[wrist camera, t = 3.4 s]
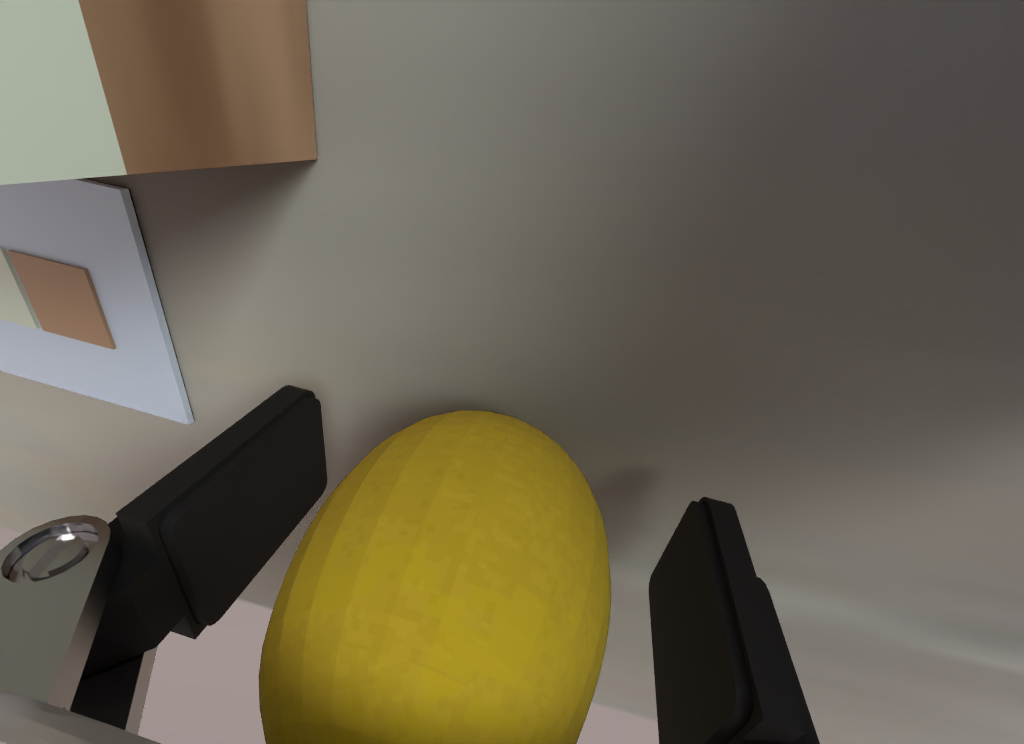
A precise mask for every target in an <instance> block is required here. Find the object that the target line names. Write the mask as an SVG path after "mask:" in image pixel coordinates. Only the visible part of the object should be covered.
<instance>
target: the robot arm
mask: <svg viewBox="0 0 1024 744" xmlns="http://www.w3.org/2000/svg"><path fill="white" fill-rule="evenodd" d="M326 485H327V472H326V460H325V449H324V438H323V427H322V415H321V405H320V401H319V400H318V399H316V398H315V394H314V393H313V392H312V391H309V390H305V389H301V388H298V387H294V386H290V385H288V386H285V387H283V388H281V389H280V390H279V391H277V392H276V393H275V394H273V395H272V396H271V397H269V398H268V399H267V400H265V401H264V402H263V403H261V404H260V405H259V406H257V407H256V408H255V409H253V410H252V411H251V412H249V413H248V414H247V415H245V416H244V417H243V418H241V419H240V420H239V421H237V422H236V423H235V424H233V425H232V426H231V427H230V428H228V429H227V430H226V431H224V432H223V433H222V434H220V435H219V436H218V437H216V438H215V439H214V440H212V441H211V442H210V443H208V444H207V445H206V446H204V447H203V448H202V449H200V450H199V451H198V452H196V453H195V454H194V455H192V456H191V457H190V458H188V459H187V460H186V461H184V462H183V463H182V464H180V465H179V466H178V467H177V468H175V469H174V470H173V471H171V472H170V473H169V474H167V475H166V476H165V477H163V478H162V479H161V480H159V481H158V482H157V483H155V484H154V485H153V486H151V487H150V488H149V489H147V490H146V491H145V492H143V493H142V494H141V495H139V496H138V497H137V498H135V499H134V500H133V501H131V502H130V503H129V504H128V505H126V506H125V507H124V508H122V509H121V510H120V511H118V512H117V513H116V515H117V518H115V519H114V520H113V521H112V522H110V523H109V524H107V522H105V521H104V520H102V519H100V518H98V517H93V516H86V515H83V516H70V517H65V518H61V519H58V520H54V521H50V522H48V523H45V524H43V525H40V526H38V527H35V528H33V529H31V530H29V531H28V532H26V533H24V534H22V535H21V536H19V537H17V538H15V539H14V540H13V541H12V542H10V543H9V544H8V545H7V546H5V547H4V548H3V549H2V550H0V744H160V743H157V742H155V741H152V740H149V739H146V738H144V737H141V736H138V731H139V727H140V721H141V717H142V713H143V709H144V704H145V700H146V695H147V691H148V686H149V682H150V677H151V673H152V668H153V664H154V660H155V655H156V651H157V646H158V644H159V643H160V642H161V641H162V640H163V639H164V638H165V637H166V636H167V634H168V633H169V632H170V631H172V632H175V633H178V634H181V635H184V636H187V637H189V638H193V639H196V638H197V637H198V636H199V634H200V633H201V632H202V631H203V630H204V628H205V627H206V626H207V625H209V626H211V625H213V624H215V623H216V622H217V621H218V620H219V619H220V618H221V617H222V616H223V615H224V614H225V612H226V611H227V610H228V609H229V607H230V606H231V605H232V604H233V603H234V601H235V600H236V599H237V598H238V597H239V595H240V594H241V593H242V592H243V590H244V589H245V588H246V587H247V586H248V584H249V583H250V582H251V581H252V579H253V578H254V577H255V576H256V575H257V573H258V572H259V571H260V570H261V569H262V567H263V566H264V565H265V564H266V562H267V561H268V560H269V559H270V558H271V556H272V555H273V554H274V553H275V551H276V550H277V549H278V548H279V547H280V545H281V544H282V543H283V542H284V540H285V539H286V538H287V537H288V536H289V534H290V533H291V532H292V531H293V529H294V528H295V527H296V526H297V525H298V523H299V522H300V521H301V520H302V519H303V517H304V516H305V515H306V514H307V512H308V511H309V510H310V509H311V508H312V506H313V505H314V504H315V503H316V501H317V500H318V499H319V498H320V497H321V495H322V494H323V492H324V490H325V488H326ZM649 602H650V617H651V631H652V645H653V660H654V674H655V688H656V703H657V717H658V730H659V744H820V743H819V740H818V737H817V734H816V731H815V728H814V725H813V722H812V719H811V716H810V713H809V710H808V707H807V704H806V701H805V698H804V695H803V692H802V689H801V686H800V683H799V680H798V677H797V674H796V671H795V668H794V665H793V662H792V659H791V656H790V653H789V650H788V647H787V644H786V641H785V638H784V635H783V632H782V629H781V626H780V623H779V620H778V617H777V614H776V611H775V608H774V605H773V602H772V599H771V596H770V593H769V591H768V588H767V586H766V584H765V583H764V582H763V581H762V579H761V578H758V577H757V576H756V573H755V570H754V567H753V564H752V561H751V557H750V554H749V551H748V548H747V545H746V542H745V538H744V535H743V532H742V529H741V526H740V523H739V520H738V516H737V513H736V510H735V508H734V506H733V505H732V504H729V503H726V502H722V501H718V500H715V499H711V498H707V497H703V498H701V499H700V501H699V502H696V501H692V502H691V503H690V504H689V506H688V508H687V510H686V512H685V513H684V515H683V517H682V519H681V521H680V523H679V525H678V526H677V528H676V530H675V532H674V534H673V536H672V538H671V539H670V541H669V543H668V545H667V547H666V549H665V551H664V552H663V554H662V556H661V558H660V560H659V562H658V564H657V566H656V567H655V569H654V571H653V573H652V575H651V578H650V582H649Z"/></svg>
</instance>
